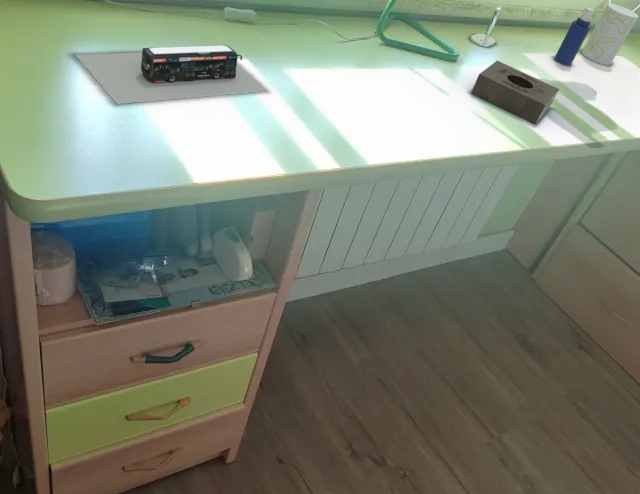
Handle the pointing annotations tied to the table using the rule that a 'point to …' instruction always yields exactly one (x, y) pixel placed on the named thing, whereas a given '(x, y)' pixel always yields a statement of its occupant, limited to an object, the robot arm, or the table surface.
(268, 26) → the table surface
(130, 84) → the toy bus on base
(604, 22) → the cup
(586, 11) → the bottle
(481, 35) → the stand
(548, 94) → the block
